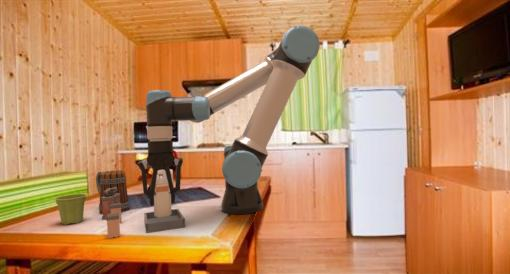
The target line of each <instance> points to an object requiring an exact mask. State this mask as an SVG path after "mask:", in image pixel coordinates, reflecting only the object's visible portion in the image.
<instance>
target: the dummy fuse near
mask: <svg viewBox="0 0 510 274" xmlns="http://www.w3.org/2000/svg"><path fill="white" fill-rule="evenodd" d="M119 217H120V213H114V214H107V217H106V220H105V221H106V227H107V228H106V232H107V239H113V237H115V238H119V237H118V236H120V235H121V225H120V224H121V223H120V221H119ZM120 237H121V236H120Z"/></svg>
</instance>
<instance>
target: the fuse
mask: <svg viewBox="0 0 510 274" xmlns="http://www.w3.org/2000/svg"><path fill="white" fill-rule="evenodd" d="M155 191H156V192H155ZM155 191H154V192H155V194H156V196H157V218H158V217H166V216H169V193H170V192H169V186H168V182H167V183H157V182H156V184H155Z"/></svg>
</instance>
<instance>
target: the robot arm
mask: <svg viewBox="0 0 510 274" xmlns="http://www.w3.org/2000/svg"><path fill="white" fill-rule="evenodd" d="M320 46H321V45H320V39H319V37H318V35H317V33H316V31H315V30H314V29H312V28H311V27H308V26H306V25H305V26H304V25H295V26H293V27H291V28H289V29H287V31H286V32H284V34H283V36H282V38H281V41H280V43H279V45H278V47H277V48H276V49H275V50H274V51H272V52H271V53H270V54H268V55H266V56H265V57H264V60H263V61H262V62H259V63H258V64H256V65H254V66H253V67H251V68H249V69H246V71H244V72H242V73H240V74H238V75H237V76H235V77H233V78H231V79H230V80H228V81H226V82H224V83H222V84H221V85H218V86H217V87H215V88H214V89H212V90H210V91H208V92H207V93H204V94H203V95H201V96H199V95H196V96H172V94H171V91H170V90H164V89H163V90H162V89H154V90H153V89H152V90H150V91H147V93H146V99H145V100H146V103H145V108H146V129H147V130H146V133H147V140H148V142H147V157H146V159H145V160H143V161H139V162H138V167H140V170H141V180H142V181H141V182H142V190H143V191H142V192H143V194H144V195H149V205H150V206H151V207H153V212H154V216H155V217H157V196H156V193H155V184H156V183H157V175H158V174H157V172H158V170H165V172H166V176H167V177H166V178H167V181H168V182H167V183H168V185H169V190H170V192H169V215H172V210H171V209H172V204H175V201H176V199H175V196H176V195H175V194H176V193H177V192H180V190H181V174H182V173H181V172H182V171H181V170H182V169H181V168H182V165H183V163H184V160H182V159H180V158H179V159H178V158H176V156H175V155H174V145H173V143H174V141H173V140H172V139H173V137H174V136H173V122H185V121H190V122H193V123H198V124H199V123H201V122H204V121H207V120H209V119H210V118H211V116H212V115H214V114H216V113H217V112H219V111H221V110H224V108H226V107H228V106H230V105H231V104H233V103H235V102H237V101H239V100H240V99H242V98H244V97H246V96H248V95H249V94H251V93H253V92H254V91H257V89H260V88H262V87H264V89H263V90H262V93H261V95H260V97H259V99H258V102H257V103H256V105H255V108H254V110H253V111H252V114H251V116H250V118H249V120H248V122H247V124H246V126H245V128H244V131H243V132H242V135H240V136H239V137H236V138H235V139H234V140H233V142H232V145H226V146H225V147H224V149H223V150H224V151H223V157H224V159H223V163H222V168H221V171H222V176H223V178H224V183H225V186H224V187H225V189H224V193H223V198H222V201H221V204H220V205H221V212H223V213H225V214H231V215H246V214H253V213H258V212H261V211H263V209H264V200H263V198H262V196H261V193H260V190H259V188H258V187H259V185H258V181H259V180H260V178H261V175H262V174H261V173H262V168H263V166H264V164H265V163H266V160H267V157H268V156H269V152H268V149H267V146H268V144H269V143H270V140H271V137H272V135H273V133H274V131H275V130H276V127H277V125H278V123H279V121H280V120H281V119H280V118H281V116H282V115H283V112H284V110H285V108H286V106H287V103H288V102H289V100H290V98H291V95H292V93H293V91H294V88H295V87H296V85H297V82H298V81H299V80H301V79H304V78H305V77H306V75H307V73H308V70H309V68H310V66H311V64H312V62H313V60H314V59H315V58H317V55H319V54H318V53H319V52H320V51H319V50H320ZM173 163H174V165H175V184H174V181H173V182H172V178H171V173H170V170H171V169H170V167H171V166H172V164H173ZM147 164H148V165H150V167H151V168H152V174H151V181H150V187H149V188H150V189H148V181H147V172H146V171H147V169H146V168H147ZM174 186H175V187H174Z"/></svg>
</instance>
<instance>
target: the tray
mask: <svg viewBox="0 0 510 274" xmlns="http://www.w3.org/2000/svg"><path fill="white" fill-rule="evenodd" d="M171 210H172V215H169V216H166V217H158V218H157V217H155V216H154V211H149V212H147V211H146V212H144V213H143V215H144V216H143V217H144V226H145V233H146V234H148V233H155V232H162V231H170V230H176V229H183V228H186V220H185V217H184V216H183V213H182V212H181V211H180V209H179V208H173V209H172V208H171Z"/></svg>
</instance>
